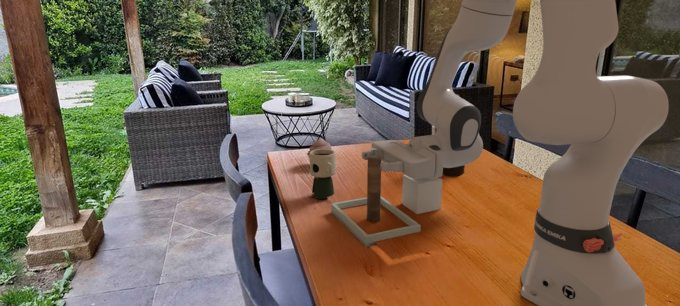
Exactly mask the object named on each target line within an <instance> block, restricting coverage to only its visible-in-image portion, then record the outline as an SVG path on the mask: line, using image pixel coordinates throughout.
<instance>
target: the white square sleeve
mask: <svg viewBox="0 0 680 306" xmlns="http://www.w3.org/2000/svg"><path fill="white" fill-rule="evenodd" d="M401 191H402V193H401V194H402V195H401V196H402V197H401V204H402V205H403V206H405V208H408V209H409V210H411V211H412V212H413V213H414V214H416V215H420V214H423V213H424V214H425V213H428V212H434V211H440V210H442V198H443V197H442V194H443V179H442V178H441V177H428V178H418V179H416V178H410V177H408V176H407V175H405V174H403V175H402V190H401Z"/></svg>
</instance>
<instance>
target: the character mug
mask: <svg viewBox="0 0 680 306" xmlns="http://www.w3.org/2000/svg"><path fill="white" fill-rule="evenodd" d="M309 151H310V150H309ZM309 156H310V158H309ZM309 156H308V158H309V174H310V175H311V176H312V177H313V180H312V181H313V182H312V190H311V195H313V198H315V199H323V200H324V199H327V198H330V197H333V195H335V192H334V191H335V188H334V183H333V178H332V176H335V174H336V172H337V171H336V170H337V169H336V151H335V150H332V149H331V150H330V149H316V150H312V151H310V153H309Z"/></svg>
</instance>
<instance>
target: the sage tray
mask: <svg viewBox="0 0 680 306" xmlns="http://www.w3.org/2000/svg"><path fill="white" fill-rule="evenodd" d="M363 205H367V196H366V197H360V198H356V199H354V198H353V199H350V200H344V201H338V202H332V203H331V207H330V208H331V210H330V211H331V212H330V213H331V214H333V215H332V216H334V217H335V218H336V219H337V220H338V221H339V222H340V223H341V224H342V225H343V226H344V227H345V228H346V229H347V230H348V231H349V232H350V233H351V234H352V235H353V236H354V237H355V238H356V239H357V240H358V241H359V242H360V243H361V244H362V245H363V246H364V247H365V248H368V247H374V246H377V245H378V244H377V243H376V242H379V241H384V240H389V239H394V238H396V237H397V238H398V237H403V236H406V235H411V234H414V233H415V234H416V233H420V232H421V230H422V228H421V227H422V225H421V224H420V223H418V222H417V221H415V220H414V219H412V218H411V217H410V216H409V215H408V214H406V213H404V211H402V210H400V209H399V208H398V207H397V206H396V205H393V204H392V203H391V202H390V201H388V200H387V199H386V198H384V197H383V196H381V197H380V205H381V206H383V208H385V209H387V210H388V211H390V213H392V214H393V215H395V217H397V218H398V219H400V221H402V222H403V223H405V224H406V225H408V226H404V227H403V226H402V227H399V228H393V229H389V230H384V231H380V232H375V233H371V234H368V233H367V232H365V231H364V230H363V229H362V228H361V227H360V226H359V225H358V224H357V223H356V222H355V221H354V220H353V219H352V218H351V217H350V216H348V215H347V213H345V212H344V210H343V209H346V208H347V209H348V208H353V207H357V206H363Z"/></svg>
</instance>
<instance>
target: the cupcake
mask: <svg viewBox="0 0 680 306" xmlns="http://www.w3.org/2000/svg"><path fill="white" fill-rule="evenodd" d="M311 144H312V145H311V146H310V147H309V150H308V151H307V153H306V155H307V156H308V158H310V156H309V153H310V151H312V150H316V149H330V150H332V145H331V144H330V142H328V141H326V140H325V139H323V138H322V137H318V140H315V141H314V142H313V143H311Z"/></svg>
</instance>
